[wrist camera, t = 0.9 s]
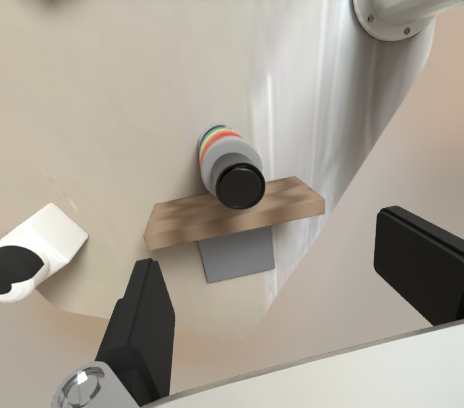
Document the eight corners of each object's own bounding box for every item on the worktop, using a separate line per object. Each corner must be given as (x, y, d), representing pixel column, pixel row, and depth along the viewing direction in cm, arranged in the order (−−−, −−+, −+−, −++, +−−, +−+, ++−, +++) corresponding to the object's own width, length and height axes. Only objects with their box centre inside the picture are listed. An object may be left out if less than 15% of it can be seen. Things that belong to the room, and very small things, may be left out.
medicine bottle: (15, 228, 38) (-58, 282, 27) (52, 201, 37) (-8, 244, 26) (55, 260, 41) (4, 321, 30) (90, 235, 40) (50, 288, 29)
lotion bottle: (243, 131, 37) (292, 165, 19) (229, 168, 39) (261, 232, 20) (205, 117, 36) (217, 138, 17) (193, 156, 37) (192, 213, 19)
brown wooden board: (295, 176, 41) (324, 199, 31) (295, 188, 41) (324, 213, 32) (155, 203, 39) (143, 236, 30) (158, 215, 40) (148, 250, 31)
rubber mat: (266, 205, 42) (267, 207, 41) (273, 265, 47) (274, 268, 46) (193, 220, 41) (193, 222, 40) (207, 280, 46) (208, 282, 45)
